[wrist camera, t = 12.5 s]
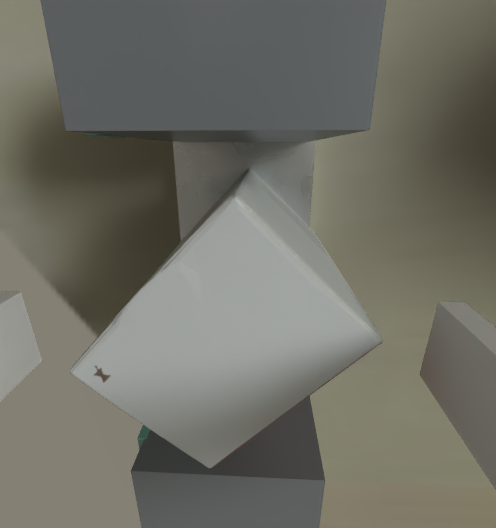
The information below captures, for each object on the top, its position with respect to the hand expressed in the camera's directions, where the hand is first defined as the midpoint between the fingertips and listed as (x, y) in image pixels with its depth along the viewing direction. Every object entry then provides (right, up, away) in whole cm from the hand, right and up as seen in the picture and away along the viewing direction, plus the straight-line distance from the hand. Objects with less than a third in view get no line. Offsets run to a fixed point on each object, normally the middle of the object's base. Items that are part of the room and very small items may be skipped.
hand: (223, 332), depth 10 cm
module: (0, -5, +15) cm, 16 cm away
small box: (0, +4, +12) cm, 12 cm away
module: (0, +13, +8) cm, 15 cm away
